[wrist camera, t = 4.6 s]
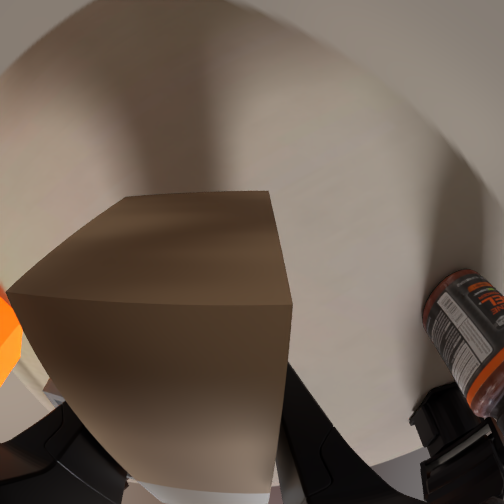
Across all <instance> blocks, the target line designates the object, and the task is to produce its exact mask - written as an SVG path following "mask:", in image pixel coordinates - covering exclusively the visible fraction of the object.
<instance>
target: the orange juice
mask: <svg viewBox="0 0 504 504" xmlns="http://www.w3.org/2000/svg"><path fill="white" fill-rule="evenodd" d="M22 330H23V329H22V327H21V325H20V323H19V321H18V319H17V317H16V315H15V313H14V310H13V308H11V307H10V306H9V305H8V304H7V303H6V302H5V301H4V300H3V299H2V298H1V297H0V387H1V385H2V384H3V382H4V381H5V379H6V378H7V376H8V375H9V373H10V372H11V370H12V369H13V367H14V366H15V364H16V363H17V361H18V360H19V359H20V352H21V340H22Z"/></svg>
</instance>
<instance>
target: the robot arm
mask: <svg viewBox="0 0 504 504" xmlns="http://www.w3.org/2000/svg"><path fill="white" fill-rule="evenodd" d="M409 423H410V425H411V426H412V425H415V426H416V429H417V431H418V434H419V437H420V439H421V442H422V445H423V446H424V447H427V449H428V451H429V454H430V457H431V458H429V459H428V460H425V461H423V462H421V463H420V466H421V478H422V485H423V494H424V500H425V501H427V502H425V501H421V500H418V499H415V498H412V497H410V496H407V495H404V494H402V493H400V492H398V491H397V490H395V489H394V488H392V487H391V486H390V485H388V484H387V483H386V482H385V481H384V480H383V479H382V478H381V477H380V476H379V475H378V474H377V473H376V472H375V471H373V470H372V469H371V468H370V467H369V466H368V465H367V464H366V463H365V462H364V461H363V460H362V459H361V458H360V457H359V456H358V455H357V454H356V453H355V451H354V450H353V449H352V448H351V447H350V446H349V445H348V443H347V442H346V441H345V440H344V439H343V437H342V436H341V435H340V433H339V432H338V431H337V429H336V428H335V427H333V424H332V423H331V421H330V420H329V418H328V417H327V416H326V414H325V413H324V412H323V410H322V409H321V407H320V406H319V405H318V403H317V402H316V400H315V399H314V398H313V396H312V395H311V393H310V392H309V391H308V389H307V388H306V386H305V385H304V384H303V382H302V381H301V379H300V378H299V376H298V375H297V374H296V372H295V371H294V369H293V368H292V366H291V365H290V364H289V362H288V363H287V372H286V381H285V390H284V399H283V407H282V415H281V423H280V430H279V438H278V445H277V452H276V458H275V460H276V466H277V471H278V477H279V483H280V489H281V494H282V500H283V504H504V436H503V434H502V432H501V430H500V428H499V427H498V426H497V424H496V423H497V422H496V420H495V419H494V418H493V417H486V419H485V420H484V418H483V417H478V416H476V415H475V414H474V413H473V411H472V409H471V408H470V406H469V404H468V402H467V400H466V398H465V397H464V395H463V393H462V392H461V390H460V388H459V386H458V384H457V382H456V383H452V384H449V385H446V386H443V387H439V388H436V389H433V390H431V391H430V392H429V394H428V395H427V397H426V398H425V400H424V401H423V403H422V404H421V406H420V407H419V409H418V410H417V412H416V413H415V414H414V416H413V417H412V419H411V420H410V422H409ZM489 431H491V432H492V433H491V434H490V435H488V436H487V435H486V434H487V433H488V432H489ZM127 473H128V472H127V471H126V470H125V469H124V468H123V467H122V466H121V465H120V464H119V463H118V462H117V461H116V460H115V459H114V458H113V457H112V456H111V455H110V454H109V453H108V452H107V451H106V450H105V449H104V447H103V446H102V445H101V444H100V443H99V442H98V441H97V440H96V438H95V437H94V436H93V435H92V434H91V433H90V431H89V430H88V429H87V428H86V427H85V425H84V424H83V423H82V422H81V420H80V419H79V418H78V417H77V415H76V414H75V413H74V411H73V410H72V409H71V407H70V406H69V405H68V403H67V402H66V400H65V401H64V402H63V403H62V404H60V405H59V406H58V407H56V408H55V409H54V410H53V411H51V412H50V413H49V414H48V415H46V416H45V417H44V418H42V419H41V420H39V421H38V422H37V423H35V424H34V425H32V426H31V427H29V428H28V429H26V430H25V431H23V432H22V433H20V434H19V435H17V436H16V437H14V438H13V439H11V440H9V441H7V442H4V443H0V504H121V501H122V495H123V491H124V487H125V482H126V477H127Z"/></svg>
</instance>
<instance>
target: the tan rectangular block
mask: <svg viewBox="0 0 504 504" xmlns="http://www.w3.org/2000/svg"><path fill="white" fill-rule="evenodd" d="M6 294H7V296H8V299H9V301H10V304H11V306H12V308H13V310H14V313H15V315H16V317H17V319H18V321H19V323H20V325H21V327H22V329H23V331H24V333H25V335H26V337H27V339H28V341H29V343H30V345H31V346H32V348H33V350H34V352H35V354H36V355H37V357H38V359H39V361H40V362H41V364H42V366H43V367H44V369H45V370H46V372H47V374H48V375H49V377H50V378H51V380H52V382H53V383H54V385H55V386H56V388H57V389H58V390H59V392H60V393H61V395H62V396H63V398H64V399H65V400H66V402H67V403H68V405H69V406H70V407H71V409H72V410H73V411H74V413H75V414H76V415H77V417H78V418H79V419H80V420H81V422H82V423H83V424H84V425H85V427H86V428H87V429H88V430H89V431H90V433H91V434H92V435H93V436H94V437H95V438H96V440H97V441H98V442H99V443H100V444H101V445H102V446H103V447H104V449H105V450H106V451H107V452H108V453H109V454H110V455H111V456H112V457H113V458H114V459H115V460H116V461H117V462H118V463H119V464H120V465H121V466H122V467H123V468H124V469H125V470H126V471H127V472H128V473H129V474H130V475H131V476H132V477H133V478H134V479H135V480H136V481H137V482H139V483H140V484H141V485H142V486H143V487H144V488H146V489H147V490H148V491H149V492H150V493H151V494H152V495H154V496H155V497H156V498H157V499H158V500H160V501H161V502H163V503H168V504H268V501H269V495H270V490H271V484H272V478H273V471H274V465H275V458H276V452H277V445H278V438H279V430H280V423H281V415H282V407H283V399H284V390H285V381H286V372H287V363H288V353H289V342H290V332H291V320H292V308H293V303H292V298H291V293H290V288H289V283H288V278H287V274H286V269H285V264H284V259H283V254H282V250H281V245H280V240H279V236H278V231H277V227H276V222H275V218H274V213H273V209H272V204H271V200H270V195H269V191H224V192H196V193H175V194H158V195H144V196H131V197H125V198H123V199H122V200H120V201H119V202H117V203H116V204H114V205H113V206H111V207H110V208H108V209H107V210H106V211H104V212H103V213H101V214H100V215H98V216H97V217H96V218H94V219H93V220H92V221H90V222H89V223H87V224H86V225H85V226H83V227H82V228H81V229H79V230H78V231H77V232H75V233H74V234H73V235H71V236H70V237H69V238H68V239H66V240H65V241H64V242H62V243H61V244H60V245H59V246H57V247H56V248H55V249H54V250H52V251H51V252H50V253H49V254H48V255H46V256H45V257H44V258H43V259H42V260H40V261H39V262H38V263H37V264H36V265H35V266H33V267H32V268H31V269H30V270H29V271H28V272H27V273H25V274H24V275H23V276H22V277H21V278H20V279H19V280H18V281H17V282H15V283H14V284H13V285H12V286H11V287H10V288H9V289H8V290H7V291H6Z"/></svg>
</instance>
